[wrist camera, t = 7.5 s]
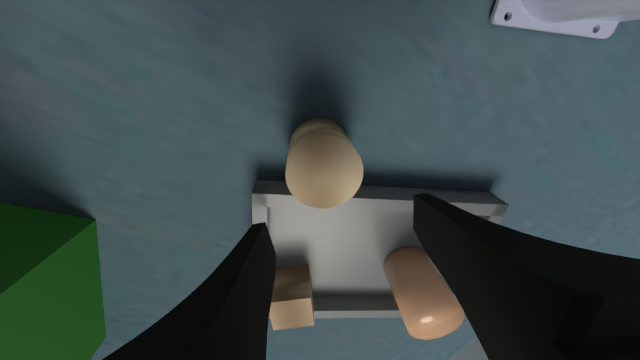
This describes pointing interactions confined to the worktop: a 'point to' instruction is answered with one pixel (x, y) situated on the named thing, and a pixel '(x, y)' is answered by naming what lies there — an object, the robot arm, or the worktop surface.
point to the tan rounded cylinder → (422, 294)
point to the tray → (352, 240)
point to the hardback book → (49, 286)
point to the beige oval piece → (322, 164)
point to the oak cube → (292, 298)
